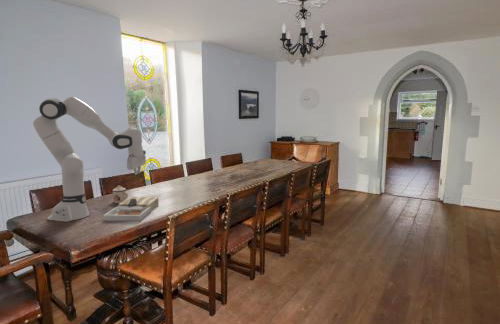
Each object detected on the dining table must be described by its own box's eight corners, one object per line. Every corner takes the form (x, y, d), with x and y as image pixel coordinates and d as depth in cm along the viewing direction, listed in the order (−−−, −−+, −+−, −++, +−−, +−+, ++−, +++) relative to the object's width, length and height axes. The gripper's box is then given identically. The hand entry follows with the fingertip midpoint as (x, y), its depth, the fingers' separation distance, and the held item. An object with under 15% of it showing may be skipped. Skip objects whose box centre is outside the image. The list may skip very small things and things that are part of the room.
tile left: (121, 209, 187) (121, 212, 187) (117, 212, 182) (117, 215, 182) (129, 209, 187) (129, 212, 187) (125, 212, 182) (125, 215, 182)
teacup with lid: (110, 202, 211) (109, 186, 209) (120, 199, 220) (119, 183, 218) (122, 204, 207) (121, 188, 205) (132, 200, 215) (131, 185, 213)
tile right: (133, 210, 185) (133, 213, 186) (129, 213, 180) (129, 216, 181) (141, 210, 185) (141, 213, 185) (137, 213, 180) (137, 216, 180)
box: (103, 220, 174) (103, 215, 174) (117, 211, 191) (117, 206, 190) (140, 221, 173) (139, 215, 173) (150, 212, 190) (150, 206, 189)
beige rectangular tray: (119, 211, 191) (118, 204, 190) (130, 203, 208) (130, 197, 207) (149, 212, 190) (148, 204, 189) (158, 204, 207) (158, 197, 206)
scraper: (115, 208, 181) (121, 198, 190) (116, 212, 183) (122, 202, 191) (140, 208, 181) (146, 198, 190) (141, 212, 183) (146, 202, 191)
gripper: (133, 155, 181) (135, 177, 184) (146, 150, 201) (148, 170, 204) (123, 155, 182) (125, 177, 184) (137, 150, 202) (139, 170, 204)
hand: (137, 173), depth 194 cm, fingers open, 3 cm apart
